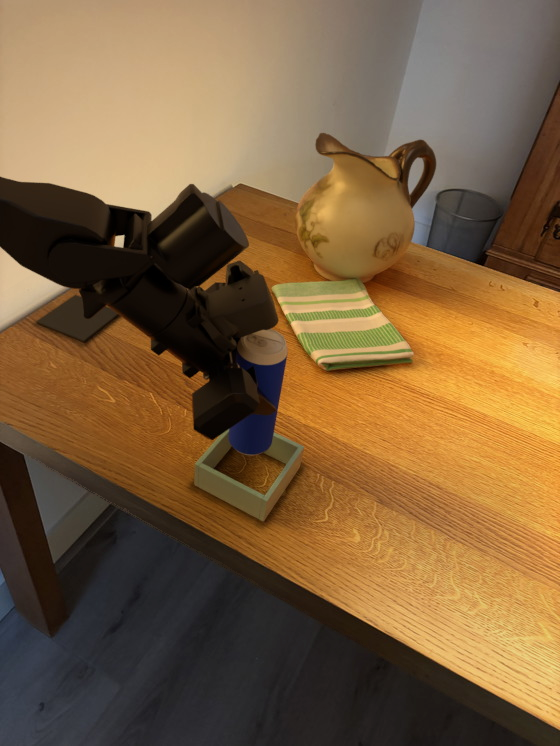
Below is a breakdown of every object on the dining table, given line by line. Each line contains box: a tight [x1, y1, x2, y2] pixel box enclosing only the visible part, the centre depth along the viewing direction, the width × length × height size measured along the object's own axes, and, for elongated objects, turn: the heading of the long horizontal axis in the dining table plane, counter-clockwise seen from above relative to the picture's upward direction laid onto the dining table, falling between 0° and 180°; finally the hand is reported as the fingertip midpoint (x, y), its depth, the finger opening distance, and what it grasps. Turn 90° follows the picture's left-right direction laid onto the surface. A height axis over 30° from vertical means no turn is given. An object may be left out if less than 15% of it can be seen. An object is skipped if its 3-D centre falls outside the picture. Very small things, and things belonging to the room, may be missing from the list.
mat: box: [36, 294, 120, 343], centre depth 87 cm, size 9×9×1 cm
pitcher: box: [294, 132, 437, 284], centre depth 102 cm, size 22×24×25 cm
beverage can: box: [229, 328, 289, 457], centre depth 59 cm, size 5×5×15 cm
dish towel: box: [271, 278, 415, 372], centre depth 93 cm, size 18×23×3 cm
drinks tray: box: [193, 429, 305, 523], centre depth 66 cm, size 10×10×4 cm
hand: (268, 394), depth 60 cm, fingers closed on beverage can, 5 cm apart
